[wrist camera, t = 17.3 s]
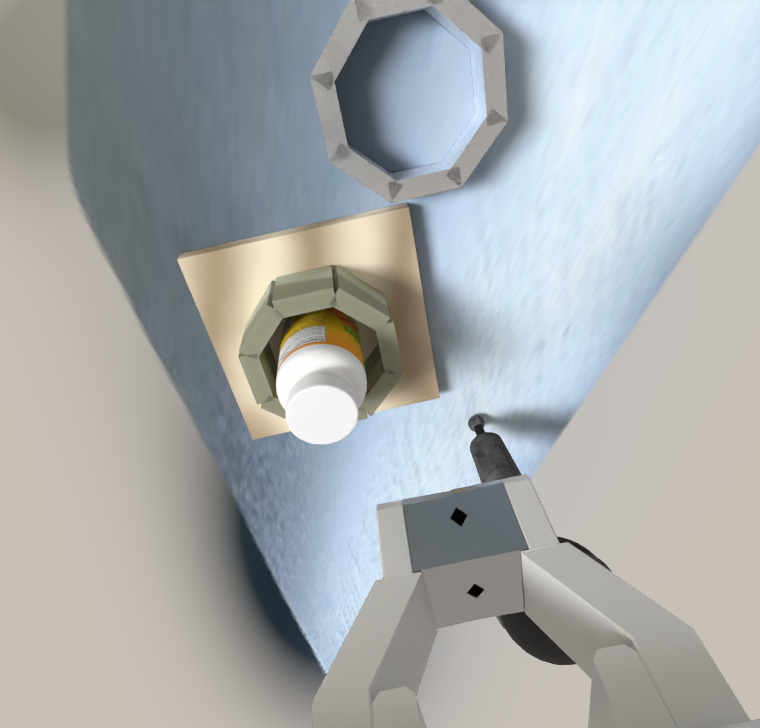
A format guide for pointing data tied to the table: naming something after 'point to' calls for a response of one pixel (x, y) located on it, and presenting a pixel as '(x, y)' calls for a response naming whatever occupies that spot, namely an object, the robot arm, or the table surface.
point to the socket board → (317, 307)
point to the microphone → (500, 465)
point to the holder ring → (488, 82)
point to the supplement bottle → (321, 375)
